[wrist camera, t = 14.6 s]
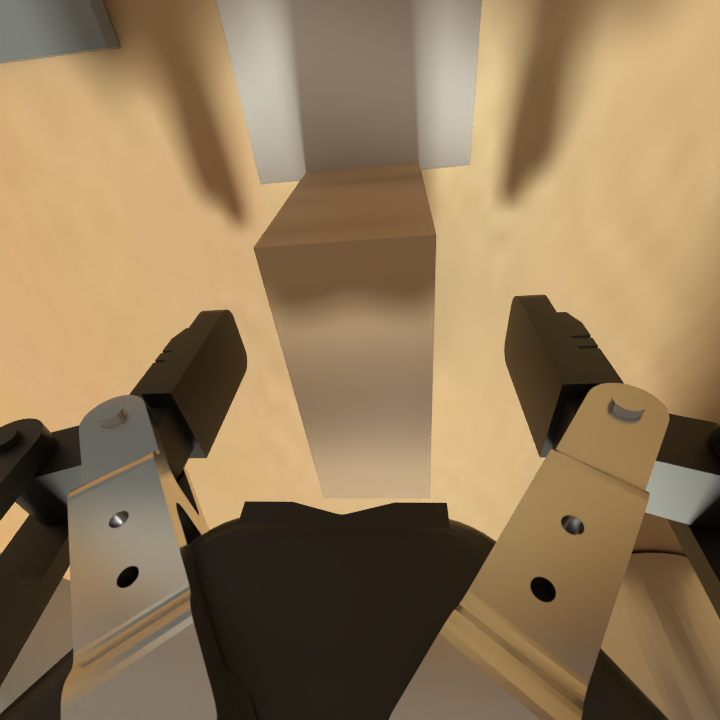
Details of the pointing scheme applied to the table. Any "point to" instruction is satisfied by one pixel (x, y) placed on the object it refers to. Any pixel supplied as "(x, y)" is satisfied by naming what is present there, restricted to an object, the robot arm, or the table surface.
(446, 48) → the tall rectangular pillar
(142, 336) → the table surface
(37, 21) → the mat
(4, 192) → the table surface
